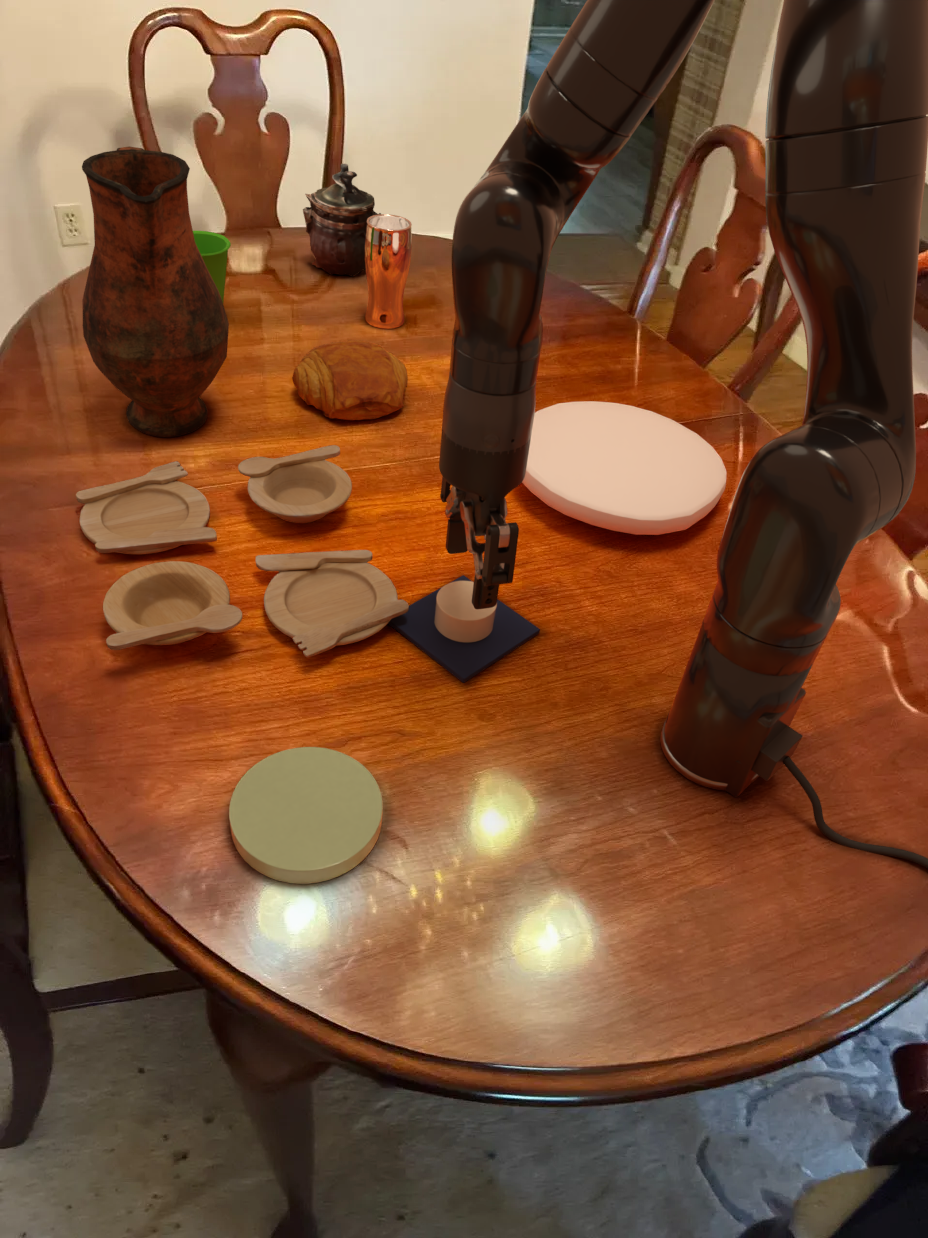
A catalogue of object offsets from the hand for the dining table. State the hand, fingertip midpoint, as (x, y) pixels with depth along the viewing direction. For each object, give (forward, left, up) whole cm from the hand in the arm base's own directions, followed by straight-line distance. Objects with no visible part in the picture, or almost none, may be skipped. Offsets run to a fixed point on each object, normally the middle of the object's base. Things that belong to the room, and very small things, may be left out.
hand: (469, 577), depth 88 cm
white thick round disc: (+8, -35, -8) cm, 36 cm away
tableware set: (+23, +11, -7) cm, 26 cm away
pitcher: (+55, -1, -8) cm, 55 cm away
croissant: (+43, -22, -8) cm, 48 cm away
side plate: (-7, +25, -7) cm, 27 cm away
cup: (+75, -20, -8) cm, 77 cm away
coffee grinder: (+77, -49, -8) cm, 91 cm away
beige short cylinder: (+1, -1, -7) cm, 7 cm away
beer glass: (+59, -42, -8) cm, 72 cm away
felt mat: (+1, -1, -7) cm, 7 cm away
